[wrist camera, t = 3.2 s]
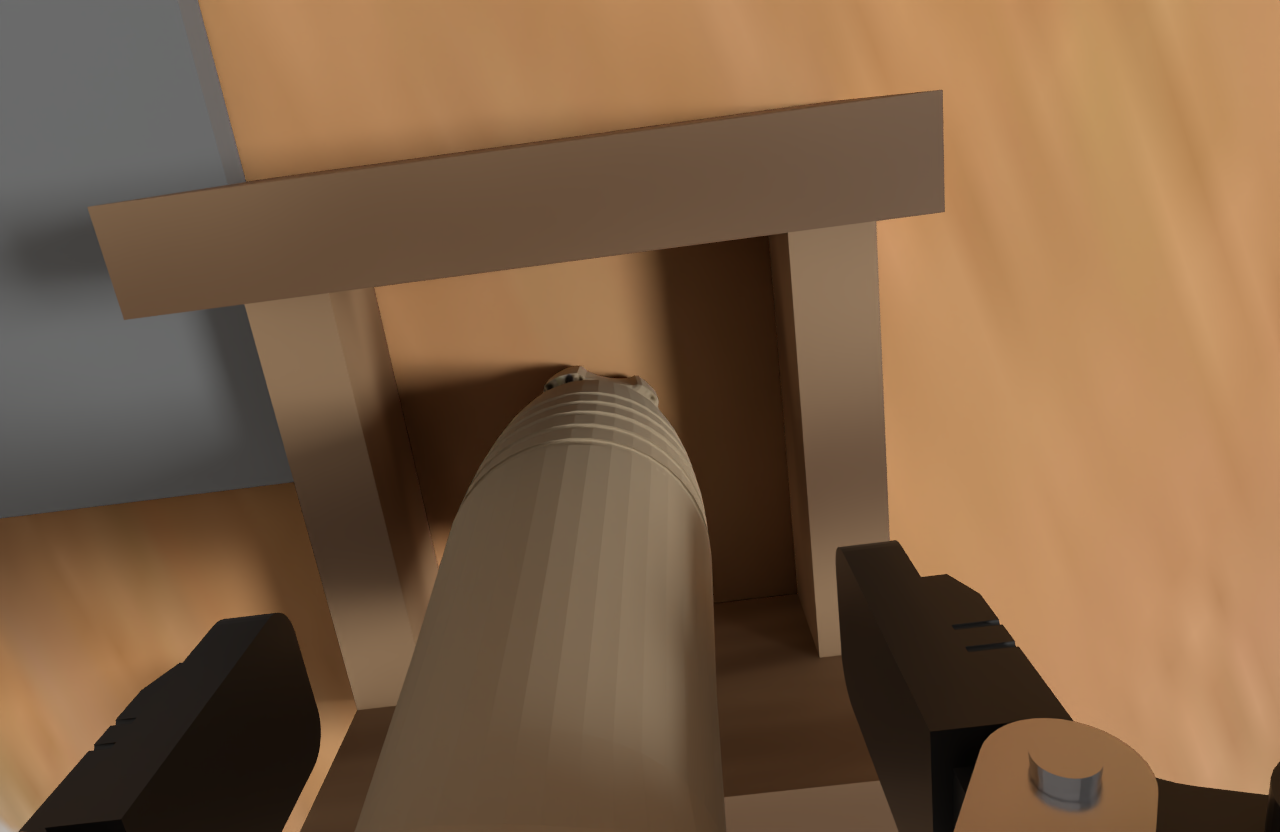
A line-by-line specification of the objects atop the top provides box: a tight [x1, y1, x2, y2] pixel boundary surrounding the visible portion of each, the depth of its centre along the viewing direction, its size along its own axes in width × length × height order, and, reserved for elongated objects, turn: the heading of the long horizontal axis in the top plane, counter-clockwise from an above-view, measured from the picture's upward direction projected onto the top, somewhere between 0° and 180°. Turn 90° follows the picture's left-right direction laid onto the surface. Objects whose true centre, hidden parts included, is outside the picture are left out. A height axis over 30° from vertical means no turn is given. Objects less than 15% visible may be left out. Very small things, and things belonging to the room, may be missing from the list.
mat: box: [0, 0, 294, 518], centre depth 17 cm, size 10×10×1 cm
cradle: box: [87, 90, 945, 832], centre depth 16 cm, size 12×11×6 cm
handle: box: [354, 366, 726, 832], centre depth 12 cm, size 5×6×15 cm
